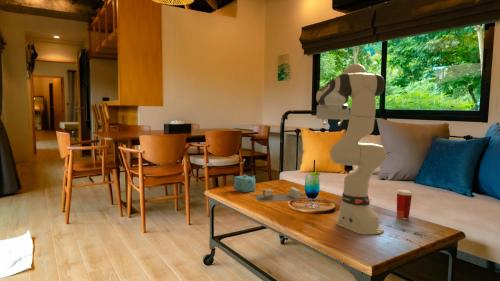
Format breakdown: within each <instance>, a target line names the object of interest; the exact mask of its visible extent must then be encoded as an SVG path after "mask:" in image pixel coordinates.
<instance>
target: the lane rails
mask: <svg viewBox="0 0 500 281" xmlns="http://www.w3.org/2000/svg"><path fill="white" fill-rule="evenodd" d="M305 193H306V192H303V193H301V192H300V196H306V195H305ZM274 195H290V193H274ZM274 195H273V196H274ZM249 196H250V197H254V196H263V194H250V195H249ZM309 199H310V198H300V199H292V200H269V201H259V200H257V201H256V202H257V203H263V202H264V203H265V202H267V203H268V202H283V201H285V202H287V201H290V202H291V201H305V202H310V201H309ZM319 200H320V201H321V198H319V197H318V198H316V199H315V201H316V202H317V201H319ZM315 201H314V202H315Z"/></svg>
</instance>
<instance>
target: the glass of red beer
mask: <svg viewBox="0 0 500 281" xmlns="http://www.w3.org/2000/svg"><path fill="white" fill-rule="evenodd" d="M395 194H396V218H397V217H399V218H398V219H400V218H408V219H409V218H410V211H411V204H412V199H413V198H412V197H413V192H412V191H410V190H408V189H397V190H396V192H395Z"/></svg>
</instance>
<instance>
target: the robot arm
mask: <svg viewBox="0 0 500 281" xmlns="http://www.w3.org/2000/svg"><path fill="white" fill-rule="evenodd" d="M384 90H385V78H384V77H383V76H382V75H381V74H378V73H374V72H371V73H367V71H366V68H365V66H364V65H362V64H361V63H352V64H350V65H349V66H348V67H346V68H345V69H344V70H343V72H342V73H340V74H339V75H338V76H336V77H334V78H333V79H331V80H329V81H328V82H327V83H326V84H325V85H324V86H322V87H320V88H318V90H317V91H316V96H315V98H316V99H315V101H316V102H317V103H318V105H317V106H316V116H315V117H316V118H317V119H319V120H321V121H322V125H323V126H326V121H325V120H339V121H338V122H337V126H338V127H339V126H341V125H342V123H343V122H344V120H346V121H347V120H348V123H347V129H346V132H345V134H344V135H343V136H342V137H341V138H340V139H339V140H338V141H336V142H335V143H334V144H333V145H332V146H331V147H330V151H329V156H330V159H331V160H332V162H333V163H335V164H337V165H341V166H342V165H343V166H356V167H357V169H356V170H355V171H352V172H350V173H348V174H346V176H345V177H344V180H343V192H342V195H341V201H342V202H341V204H340V207H339V211H338V217H337V220H336V222H335V224H336V225H337V226H340V227H342V228H344V229H346V230H349V231H351V232H354V233H355V234H358V235H378V234H383V233H385V230H384V228H382V227H381V226H379V223H380V222H379V217H378V214H377V213H376V212H375V211H374V210H373V208H372V207H371V204H370V203H371V202H372V201H371V200H372V199H370V196H369V194H368V193H369V185H370V184H369V183H370V179H371V177H372V175H373V173H374V172H375V171H376V170H377V169H379V167H381V166H382V165H383V164H385V163H386V160H387V150H386V149H385V146H383V145H380V144H377V143H371V142H369V143H368V142H360V141H361V140H362V139H364V138H365V137H368V136H370V134H372V133H373V131H374V128H375V119H376V118H375V117H376V109H377V108H376V105H377V104H376V103H377V102H376V97H378V96H380V95H382V93H384ZM349 97H350V100H351V104H350V107H349V104H348V102H349ZM349 108H350V110H349Z"/></svg>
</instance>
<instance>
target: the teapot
mask: <svg viewBox="0 0 500 281" xmlns="http://www.w3.org/2000/svg"><path fill="white" fill-rule="evenodd" d="M233 190H235V191H236V192H242V193H248V192H249V193H250V192H253V191H256V175H253V176H249V175H247V174H243V175H238V176H234V177H233Z"/></svg>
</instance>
